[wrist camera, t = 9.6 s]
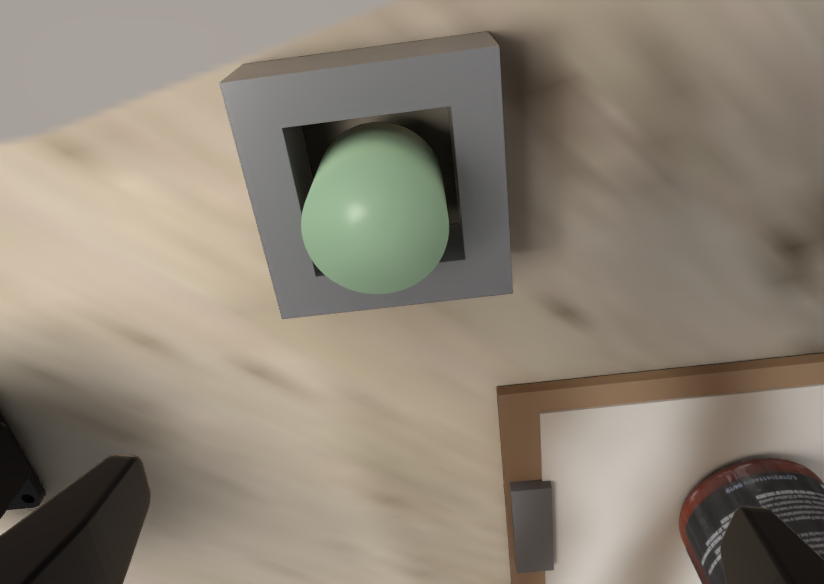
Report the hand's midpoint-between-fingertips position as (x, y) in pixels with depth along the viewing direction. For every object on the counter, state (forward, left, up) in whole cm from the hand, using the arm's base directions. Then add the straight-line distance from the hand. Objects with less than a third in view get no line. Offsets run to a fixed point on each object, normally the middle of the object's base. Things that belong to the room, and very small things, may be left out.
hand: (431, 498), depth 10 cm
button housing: (-1, +1, -12) cm, 12 cm away
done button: (-1, +1, -11) cm, 11 cm away
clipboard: (+9, -15, -12) cm, 21 cm away
